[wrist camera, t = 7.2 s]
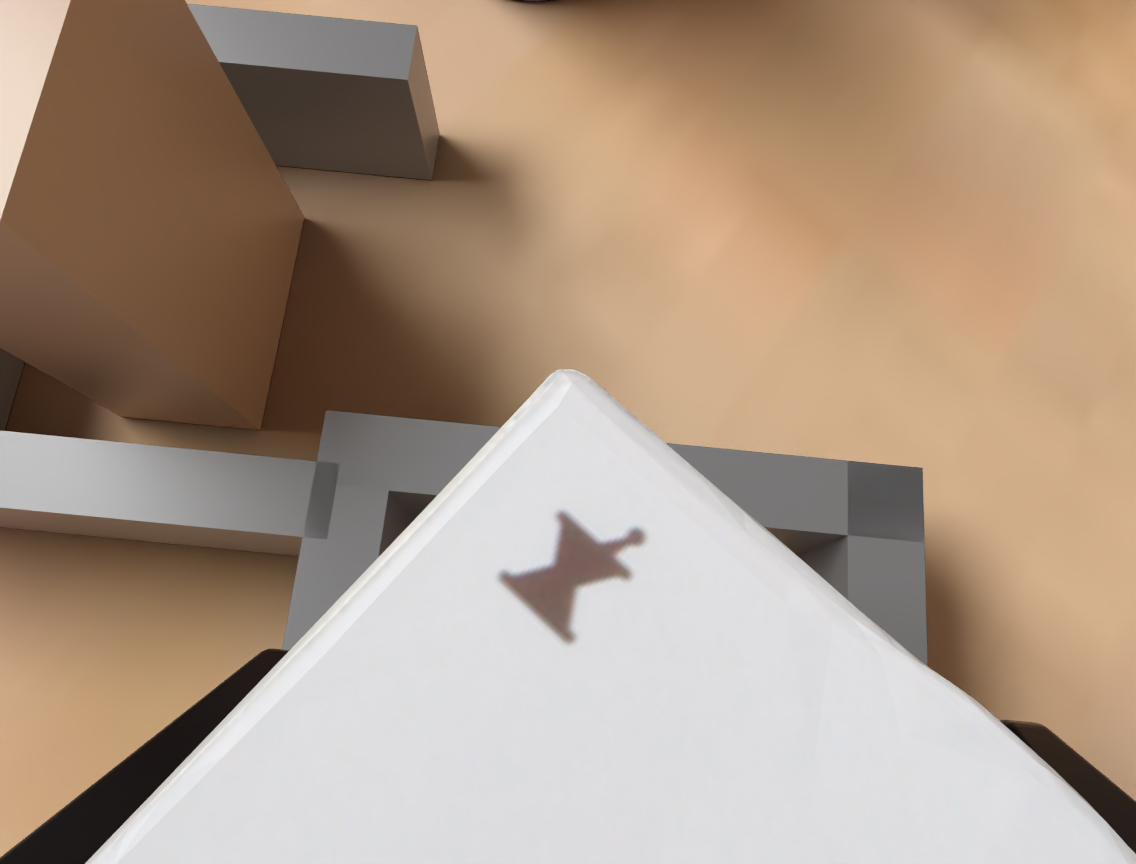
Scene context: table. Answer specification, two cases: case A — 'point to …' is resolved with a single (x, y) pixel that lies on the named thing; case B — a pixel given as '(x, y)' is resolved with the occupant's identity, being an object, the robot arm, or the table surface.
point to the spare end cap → (175, 243)
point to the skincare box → (604, 695)
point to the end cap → (751, 479)
